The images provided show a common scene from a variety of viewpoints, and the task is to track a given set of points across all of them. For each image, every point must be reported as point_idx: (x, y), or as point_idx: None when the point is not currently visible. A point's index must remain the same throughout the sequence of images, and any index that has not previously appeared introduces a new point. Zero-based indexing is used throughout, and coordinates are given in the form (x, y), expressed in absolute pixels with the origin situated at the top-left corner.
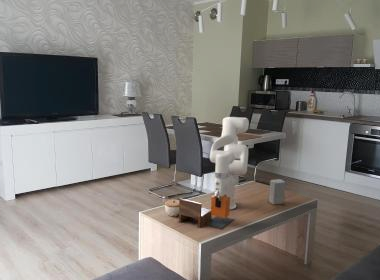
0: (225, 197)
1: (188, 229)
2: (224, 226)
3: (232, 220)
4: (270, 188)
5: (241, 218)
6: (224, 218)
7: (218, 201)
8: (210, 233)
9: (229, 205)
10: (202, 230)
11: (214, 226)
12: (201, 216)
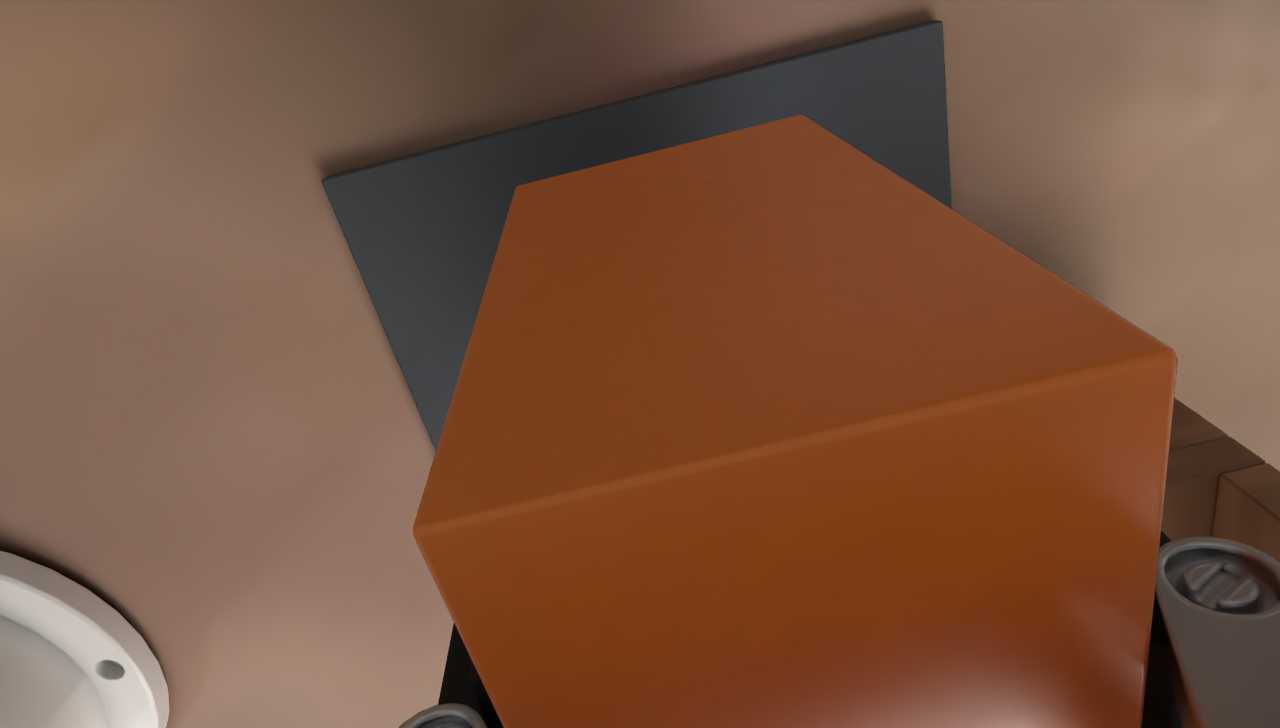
0: (767, 623)
1: (1276, 418)
2: (788, 59)
3: (370, 165)
4: None
5: (76, 101)
6: (457, 333)
7: (1191, 559)
8: (1253, 41)
9: (508, 286)
10: (1199, 244)
11: (944, 198)
12: (1196, 482)
